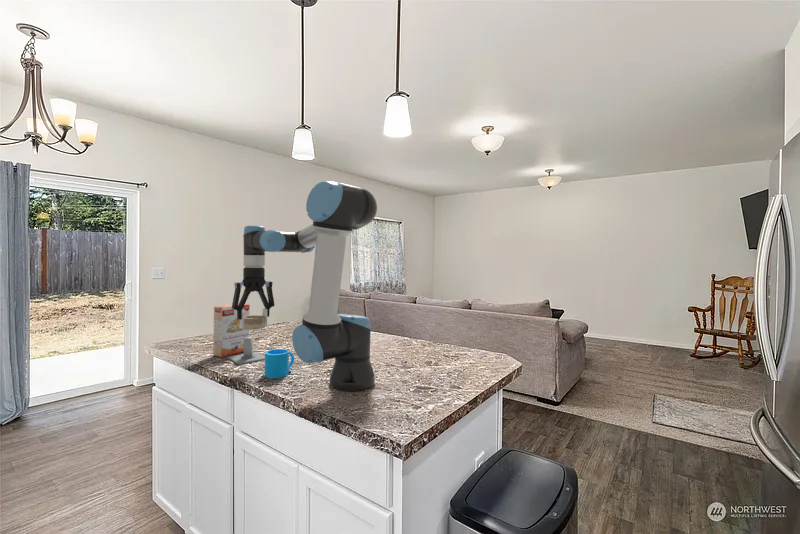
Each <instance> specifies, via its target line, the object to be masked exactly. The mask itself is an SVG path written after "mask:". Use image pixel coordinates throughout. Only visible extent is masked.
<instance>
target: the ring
mask: <svg viewBox="0 0 800 534" xmlns="http://www.w3.org/2000/svg"><path fill="white" fill-rule="evenodd" d="M266 327H267V326H266V316H263V315H262V314H251V315H250V314H249V316H244V329H249V331H250V330H252V331H253V330H260V329H265V328H266Z"/></svg>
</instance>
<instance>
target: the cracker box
mask: <svg viewBox="0 0 800 534" xmlns="http://www.w3.org/2000/svg"><path fill="white" fill-rule="evenodd" d="M243 311H245V313H244V316H249V315H250V304H249V303H245V305H244V307H243ZM212 334H213V335H212V336H213V337H212V338H213V340H212V341H213V347H212V349H213V350H212V351H213V353H212V355H213V356H215V357H219V358H223V357H229V356H233V355H237V354H239V353H244V338H245V337H250V330H249V329H242V328H240V320H239V319H237V310H235V309H232V304H226V305H218V306H217V305H216V306H213V332H212Z"/></svg>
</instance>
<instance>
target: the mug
mask: <svg viewBox="0 0 800 534" xmlns="http://www.w3.org/2000/svg"><path fill="white" fill-rule="evenodd" d="M264 356H265V360H264V376H265V377H266V378H268V379H269V378H270V379H280V378H284V377H287V376H288V375H289V372H290V371H289V370H290V368H291V367H292V366H293V364H294V361H295V356H294V354H293V353H292V352H291V351H289V350H288V349H285V348H283V349H282V348H277V349H276V348H275V349H268V350H266V351H265V352H264ZM289 358H290V359H289Z"/></svg>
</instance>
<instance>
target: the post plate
mask: <svg viewBox="0 0 800 534" xmlns="http://www.w3.org/2000/svg"><path fill="white" fill-rule="evenodd" d="M253 339H254V338H253V337H252V336H249V337H245V338H244V352H243V354H242V353H241V354H234V355H228V356H227V359H229V360H230V361H232V362H233V363H235V364H236V365H239V366H240V365H243V364H250V363H255V362H260V361H265V354H264V355H263V354H262V353H260V352H258V351H255V352H253V349H254V348H253V346H254V345H253V342H254V341H253Z"/></svg>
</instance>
